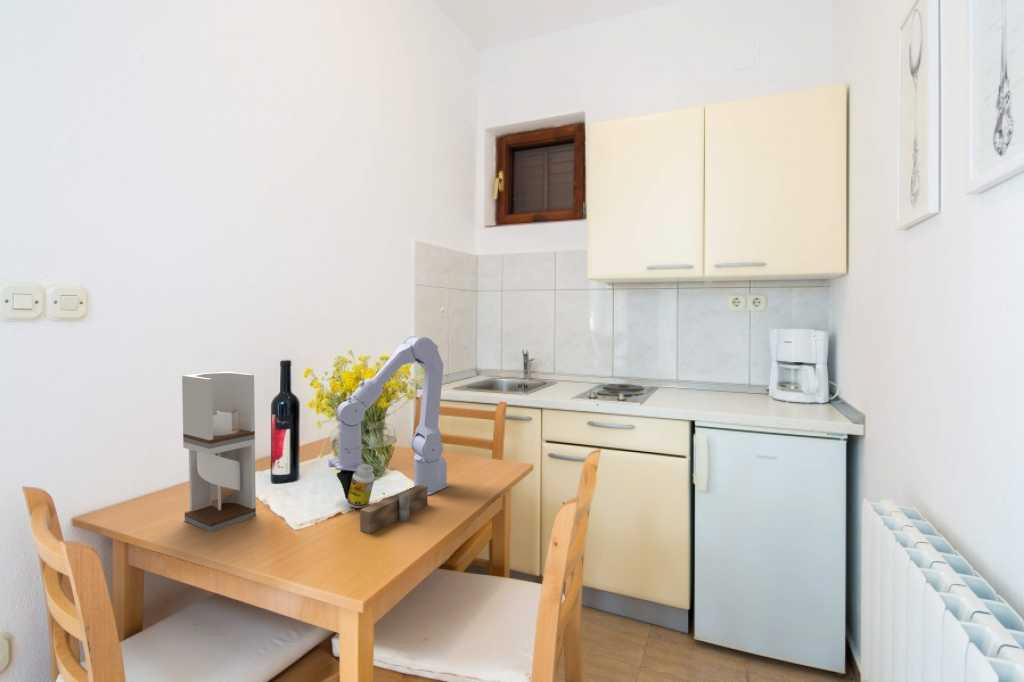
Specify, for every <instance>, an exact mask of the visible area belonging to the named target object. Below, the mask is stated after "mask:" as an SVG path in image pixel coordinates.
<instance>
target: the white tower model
mask: <svg viewBox="0 0 1024 682" xmlns="http://www.w3.org/2000/svg"><path fill="white" fill-rule="evenodd" d="M181 380H182V381H181V383H182V384H181V387H182V388H181V390H182V391H181V392H182V393H181V395H182V398H181V399H182V435H183V436H182V442H183V443H182V444H183V445H182V447H183V448H184V449H187V450H188V476H189V477H188V479H189V480H188V481H189V482H188V483H189V510H188V511H184V522H187V523H188V524H191V525H193V526H195V527H198V528H200V529H203V530H205V531H207V532H209V533H212V532H215V531H217V530H220V529H222V528H226V527H228V526H233V525H234V524H237V523H239V522H240V523H241V522H242V521H245V520H247V519H252V518H254V517H256V516H257V502H256V500H257V499H256V495H257V494H256V491H257V490H256V431H255V428H256V426H255V425H256V420H255V418H256V417H255V414H256V413H255V409H256V408H255V374H250V373H242V372H234V371H220V372H208V373H198V374H197V373H195V374H186V375H182V376H181Z"/></svg>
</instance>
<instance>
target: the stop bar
mask: <svg viewBox="0 0 1024 682" xmlns="http://www.w3.org/2000/svg"><path fill="white" fill-rule="evenodd" d="M413 486H414V485H413ZM411 487H412V486H411ZM408 488H409V489H408ZM408 488H407V489H404V490H401V492H398V493H395V494H393V495H391V496H389V497H387V498H384V499H382V500H379V501H377V502H375V503H372V504H371V505H370V504H369V505H367V506H365V507H363V508H360V509H359V513H360V514H359V516H360V518H359V520H360V521H359V524H360V525H359V526H360V528H359V529H360V532H363V533H365V534H369V535H370V534H372V533H374V532H377V531H379V530H381V529H382V528H384V527H386V526H389V525H390V524H392V523H395V522H398V520H399V522H403V523H404V522H409V521H410V515H411V514H412V513H414V512H416V511H418V510H421V509H423V508H425V507H427V506H428V496H429V495H428V486H424V485H420V484H419V485H416V486H414V487H412V488H410V487H408Z"/></svg>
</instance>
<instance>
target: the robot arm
mask: <svg viewBox="0 0 1024 682" xmlns="http://www.w3.org/2000/svg"><path fill="white" fill-rule="evenodd" d="M438 347H439V346H438V345H437V344H436V343H435V342H434V341H433V340H432V339H431V338H429V337H425V336H424V337H420V336H416V335H413V336H409V337H407V338H406V339H405V340H404V342H403V343H401V344H399V345H398V346H397V348H396V350H395V351H394V352H393V353H392V355H391V356H390V357H389V358H388V359H387V361H386V362H385V363H384V364H383V365H382V366H381V368H380V369H379V370H378V372H377V373H376V374H375V375H374V376H373V377H371V378H365V379H364V381H363V380H360V381H359V382H358V387H357V388H356V390H354V392H353V393H352V394H351V395H347V397H346V401H343V402H341V403H340V404H339V405H338V407H337V410H336V411H335V416H336V418H337V419H338V434H337V436H338V437H337V439H338V443H337V444H338V445H337V446H338V447H337V448H338V449H337V450H338V453H337V454H338V455H337V457H338V458H332V459H328V468H335V469H334V470H337V471H340V472H336V477H337V479H338V480H339V481H340V482H339V483H341V487H342V490H343V493H344V497H345V500H347V498H348V494H349V489H350V485H351V480H352V476H353V473H354V472H356V471H357V469H358V466H359V465H361V464H365V463H363V462H362V421H363V420H364V419H365V414H366V412H367V411H368V410H369V409H370V407H371V406H372V405H373V404H374V403H375V402H376V401H377V399H378V398H379V397H381V395H382V394H383V392H384V391H383V390H384V389H383V388H384V385H385V384H386V383H387V382H388V381H390V379H391V378H392V377H393V376H394V375H395V374H396V373H397V372H398V371H399V370H400V369H401V368H402V367H403V366H404V365H406V364H410V363H416V362H417V364H418V365H419V366H420V367H421V368H422V369H423V371H424V372H423V373H424V374H423V384H422V391H421V392H422V393H421V402H420V413H419V424H418V425H417V427H416V428H415V432H414V436H413V438H412V439H411V443H410V446H411V449H412V451H413V452H414V456H413V459H414V460H413V486H416V485H419V484H420V485H424V486H428V496H430V495H432V494H434V493H436V492H438V491H440V490H442V489H445V488H447V487H449V486H450V484H449V483H447V477H448V474H447V472H448V469H447V467H448V466H447V464H448V463H447V461H446V458H444V456H443V455H442V454H443V451H444V446H443V443H442V433H441V431H440V428H439V418H440V408H441V396H442V386H443V374H444V362H443V360H442V357H441V356H440V355H441V354H440V353H439V351H438V350H439V349H438ZM368 467H369V466H368ZM372 467H373V466H372ZM372 467H369V468H367V467H364V468H365V469H364V468H361V469H363V470H365V471H369V470H372ZM371 475H372V474H371ZM366 477H367V476H366Z"/></svg>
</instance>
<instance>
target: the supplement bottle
mask: <svg viewBox="0 0 1024 682" xmlns="http://www.w3.org/2000/svg"><path fill="white" fill-rule="evenodd" d="M368 466H369V467H372V470H369V471H365V470H363V469H361V468H364V467H367V468H369V467H368ZM364 469H365V468H364ZM371 474H372V475H371ZM366 476H367V477H366ZM374 482H375V475H374V467H373V466H372V465H370V464H367V463H366V464H365V463H364V464H361V465H359V466H358V469H357V471H356V472H354V473H353V476H352V480H351V485H350V489H349V494H348V498H347V499H346V502H347V504H348V505H349V506H350V507H352V508H357V509H363V508H365V507H367V506H369V503H370V499H371V495H372V491H373V487H374Z"/></svg>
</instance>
